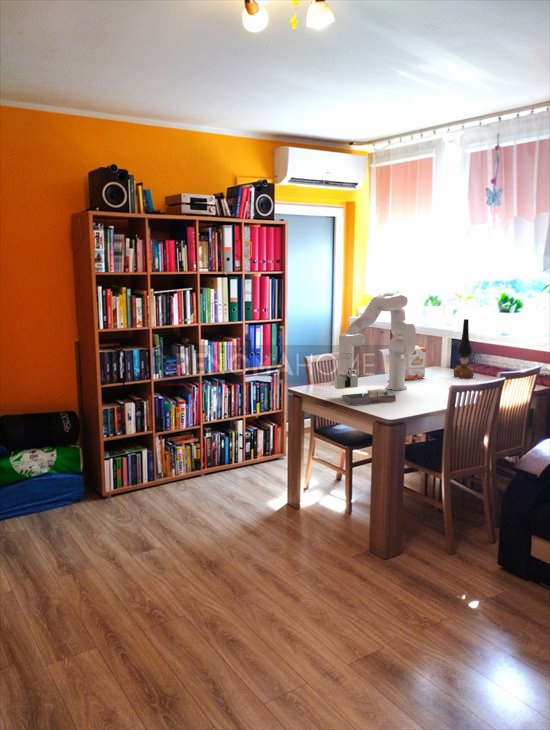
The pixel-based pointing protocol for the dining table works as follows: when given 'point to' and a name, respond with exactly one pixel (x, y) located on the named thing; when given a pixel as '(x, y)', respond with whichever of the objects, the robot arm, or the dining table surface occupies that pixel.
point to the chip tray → (356, 399)
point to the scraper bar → (340, 381)
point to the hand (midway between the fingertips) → (346, 385)
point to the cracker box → (415, 364)
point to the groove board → (381, 398)
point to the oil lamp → (464, 354)
